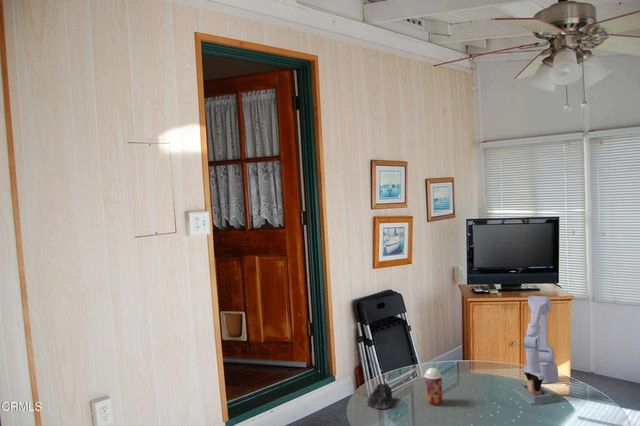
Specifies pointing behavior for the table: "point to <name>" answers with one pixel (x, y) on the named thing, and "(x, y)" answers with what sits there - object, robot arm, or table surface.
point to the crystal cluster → (381, 397)
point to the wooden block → (532, 388)
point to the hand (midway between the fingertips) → (534, 388)
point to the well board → (533, 399)
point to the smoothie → (433, 385)
